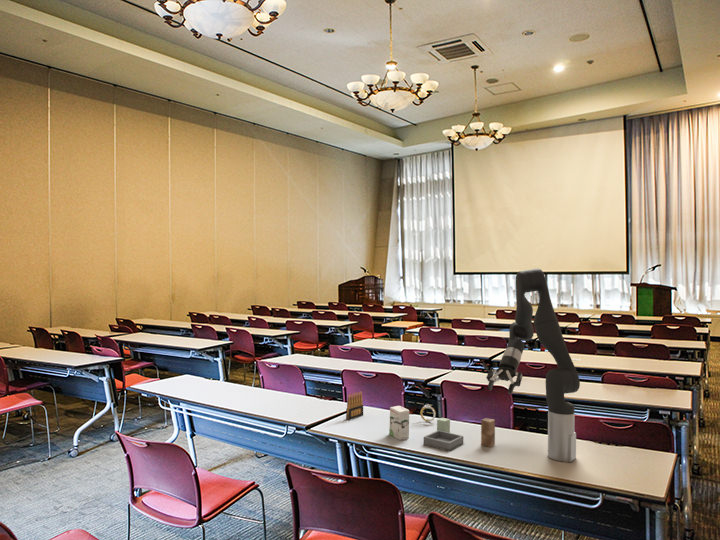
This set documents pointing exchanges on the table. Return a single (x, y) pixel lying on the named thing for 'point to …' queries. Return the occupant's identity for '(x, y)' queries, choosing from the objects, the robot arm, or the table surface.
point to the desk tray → (443, 440)
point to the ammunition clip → (354, 406)
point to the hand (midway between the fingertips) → (499, 391)
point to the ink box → (399, 422)
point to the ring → (425, 408)
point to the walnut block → (487, 432)
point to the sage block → (443, 425)
